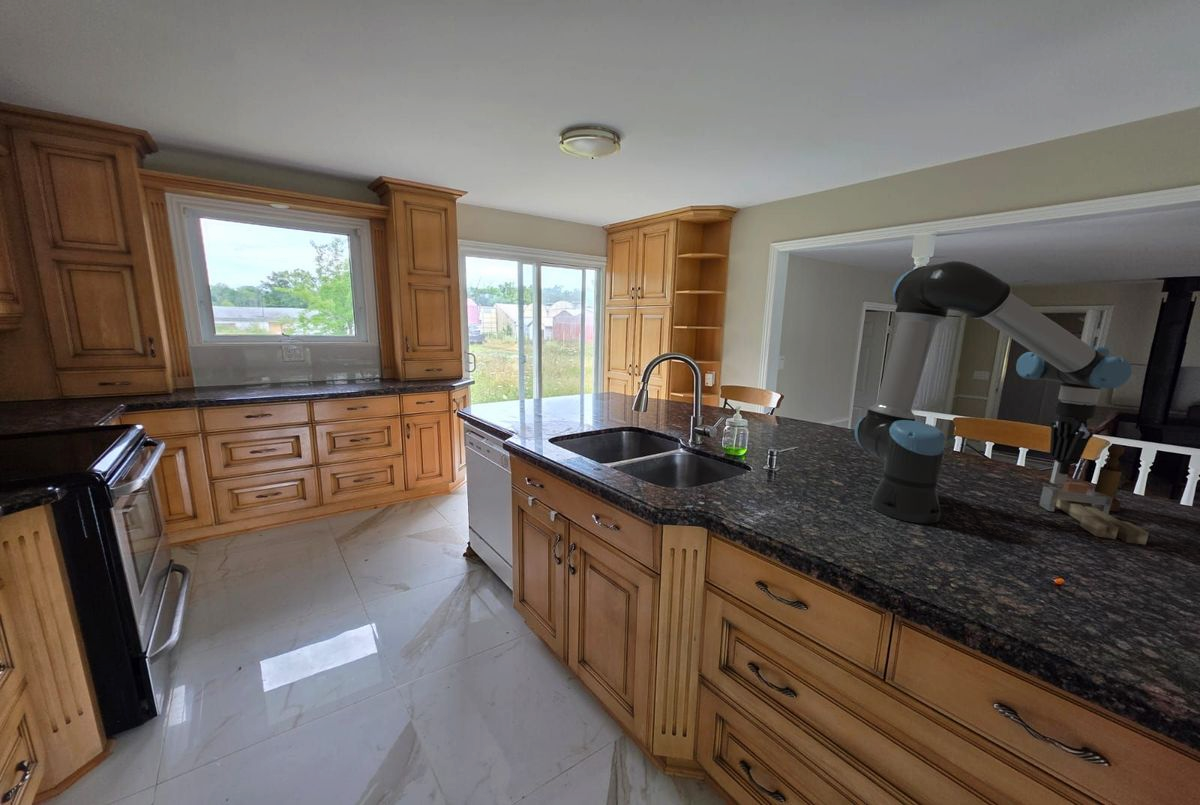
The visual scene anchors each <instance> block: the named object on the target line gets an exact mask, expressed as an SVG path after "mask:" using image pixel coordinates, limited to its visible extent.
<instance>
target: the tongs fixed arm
mask: <svg viewBox="0 0 1200 805" xmlns="http://www.w3.org/2000/svg"><path fill="white" fill-rule="evenodd" d="M1056 503H1057V501H1056ZM1077 503H1078V504H1080V505H1082V506H1083V507H1085V508H1087V509H1089V510H1090V511H1092V512H1094V513H1095V514H1097V515H1099V516H1100V517H1102V518H1104V519H1105V520H1107V521H1109V522H1110V523H1112V524H1114V525H1115V526H1117V527H1119V528H1118V532H1117V536H1116V538H1119V539H1120V540H1122V541H1124V542H1125V543H1129V544H1137V545H1139V544H1140V545H1145V546H1146V545H1147V543H1148V542H1147V541H1148V537H1149V534H1150V532H1148V531H1147V530H1145V529H1142V528H1141V527H1139V526H1137V525H1135V524H1134V523H1131V522H1129V521H1124V520H1119V519H1117V518H1116V517H1113V516H1111V514H1106V513H1104V512H1102V511H1100V510H1098V509H1097V508H1095V507H1093V506H1091V505H1089V504H1087V503H1083V502H1077Z"/></svg>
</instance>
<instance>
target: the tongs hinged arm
mask: <svg viewBox="0 0 1200 805" xmlns="http://www.w3.org/2000/svg"><path fill="white" fill-rule="evenodd" d="M1058 488H1060V487H1059V486H1058ZM1055 507H1057V508H1058V509H1060V510H1062V511H1063V512H1064V513H1066V514H1067V515H1069V516H1070V517H1072V518H1074V519H1075V520H1077V521H1078V522H1079V523H1080V524H1079V526H1080V527H1081V528H1083V529H1084V530H1086V531H1087V532H1089V533H1090V534H1092V535H1093V536H1095V537H1097V538H1105V539H1112V540H1116V539H1117V537H1116V536H1117V532H1118V528H1119V527H1117V526H1115V525H1114V524H1112V523H1110V522H1109V521H1107V520H1105V519H1104V518H1102V517H1100V516H1099V515H1097V514H1095V513H1094V512H1092V511H1090V510H1089V509H1087V508H1085V507H1083V506H1082V505H1080V504H1078V503H1077V502H1075V501H1066V500H1058V499H1057V503H1056V505H1055Z"/></svg>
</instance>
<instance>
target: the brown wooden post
mask: <svg viewBox="0 0 1200 805" xmlns="http://www.w3.org/2000/svg"><path fill="white" fill-rule="evenodd" d="M1107 452H1108V454H1109V456H1110V457H1109V458H1108V459H1106V463H1107V466H1100V468H1099V469H1100V470H1099V473H1098V477H1097V480H1096V484H1095V485H1096V486H1095V487H1094V491H1093V492H1101V493H1103V494H1105V495H1108V496H1110V497H1112V498H1113V499H1112V502H1111V506H1110V510H1109V512H1111V511H1112V512H1119V510H1120V506H1121V501H1119V500H1118V499H1117V498H1116V494H1117V491H1118V487H1119V485H1120V484H1119V483H1120V480H1121V476H1122V473H1123V470H1121V469H1118V468H1117V467H1118V466H1119V464H1120V461H1119V459H1118V458H1120V457H1121V456H1122V455H1123V454H1124V453H1125V448H1124V447H1123V445H1120V444H1111V445H1108V447H1107ZM1087 504H1089V505H1091V506H1092V504H1091V503H1087Z"/></svg>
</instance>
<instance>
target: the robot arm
mask: <svg viewBox="0 0 1200 805" xmlns="http://www.w3.org/2000/svg"><path fill="white" fill-rule="evenodd" d="M1012 289H1013V288H1012V287H1011V285H1010V284H1008V283H1006V282H1005V281H1004V280H1002V279H1001V278H999V277H998V276H996V275H994V274H993V273H991V272H989V271H987V270H985V269H984V268H981V267H979V266H978V265H977V266H976V265H975V264H971V263H968V262H965V261H956V260H955V261H947V262H943V263H936V264H930V265H923V266H922V265H921V266H918V267H916V268H914V269H911V270H908V271H907V272H905V273H904V274H902V275H901V276H900V277H899V278H898V279H897V280H896V282H895V284H894V286H893V289H892V298H893V299H892V300H893V301H894V303H895V305H896V309H895V312H894V315H895V316H896V318H897V319H898V323H897V324H898V325H897V328H896V332H895V334H894V335H895V336H894V339H893V342H892V347H891V349H890V353H889V356H888V359H887V360H888V361H887V363H886V368H885V371H884V374H883V377H882V382H881V385H880V388H879V392H878V395H877V399H876V402H875V403H874V404H873V405H871V406H869V407H868V409H867V413H866V414H865V415H863V417H862V418H860V419H859V420H858V421H857V423H856V424H855V427H854V438H855V441H856V442H857V444H858V446H859V447H861V448H860V449H863V450H864V451H865V452H866V453H867V454H869V455H871V456H874V457H876V458H877V459H880V460H881V461H883V462H885V463H884V468H883V473H882V474H883V476H882V479H881V480H880V481H879V484H878V485H877V487H876V489H875V490H874V492H873V494H872V496H871V500H870V501H871V502H870V506H871V507H872V508H873V509H874V510H876V511H877V512H879V513H881V514H882V515H885V516H886V517H887V516H888V517H890V518H893V519H897V520H900V521H905V522H908V523H916V524H925V525H926V524H934V523H938V522H939V521H940V518H941V513H942V512H941V510H942V509H941V505H940V500H939V496H938V492H937V485H938V480H939V475H940V470H941V465H942V461H943V460H942V459H943V455H944V451H945V449H946V447H945V442H946V441H945V440H946V439H945V438H946V435H945V433H944V432H943V431H942V430H941V429H939V428H938V427H936V426H933V425H932V424H928V423H923V422H920V421H916V415H915V414H914V413H913V412H912V409H913V405H914V401H915V399H916V396H917V391H918V389H919V385H920V383H921V379H922V375H923V372H924V368H925V365H926V362H927V359H928V355H929V351H930V349H931V345H932V342H933V337H934V334H935V332H936V328H937V326H938V324H940V323H942V322H944V321H945V320H947V315H948V312H949V310H953V311H957V312H960V313H964V314H965V315H967V316H969V317H970V318H972V319H974V320H979V319H981V320H983V321H984V322H986V323H988V324H990V325H991V326H992V327H993V328H995V329H997V330H999V331H1000V332H1001V333H1003V334H1004V335H1006V336H1007V337H1008V338H1010V339H1011V340H1013V341H1015V342H1017V343H1019V345H1021V346H1022V347H1024V348H1026V349H1027V350H1028V351H1027V352H1025V353H1022V354H1021V355H1020V356H1019V357H1018V359H1017V361H1016V365H1015V368H1016V369H1015V370H1016V373H1017V374H1018V376H1020V377H1021V378H1022V379H1028V380H1033V381H1034V380H1035V381H1036V380H1042V381H1044V380H1045V381H1050V382H1057V383H1058V382H1059V383H1061V384H1060V389H1059V393H1058V398H1057V399H1058V400H1059V401H1057V402H1056V406H1055V410H1054V414H1056V415H1058V416H1059V417H1058V419H1057V421H1051V422H1050V430H1051V432H1050V449H1049V455H1050V456H1051V457H1053V460H1054V462H1053V466H1052V472H1051V476H1050V480H1049V483H1051V484H1053V485H1059V486H1063V485H1064V481H1067V480H1068V476H1069V473H1070V468H1071V466H1072V464H1078V463H1079V462H1080V460H1081V457H1082V455H1083V453H1084V451H1085V449H1086V448H1087V445H1088V442H1089V441H1090V440H1091V439H1092V437H1093V436H1094V433H1093V431H1088V429H1087V428H1088V420H1091V419H1094V418H1095V415H1096V411H1097V406H1096V405H1095V404H1097V403H1098V402H1099V398H1100V395H1101V389H1115V388H1120V387H1121V386H1123V385H1124V384H1126V383H1127V382H1128V380H1130V378H1131V375H1132V372H1133V369H1132V368H1133V367H1132V365H1131V363H1130V362H1129V361H1128V360H1126V359H1125V358H1122V357H1117V356H1114V355H1110V349H1109V348H1108V347H1106V346H1096V345H1095V346H1093V345H1092V346H1091V345H1089V344H1088V343H1086V342H1084V341H1083V340H1082V339H1080V338H1078V337H1077V336H1075V335H1074V334H1072V333H1071V332H1070V331H1068V330H1067V329H1066V328H1064V327H1062V326H1061V325H1059V324H1058V323H1057V322H1055V321H1054V320H1052V319H1050V318H1049V317H1047V316H1046V315H1044V314H1043V313H1041V312H1040V311H1039V310H1037V309H1036V308H1034V307H1033V306H1032V305H1031V304H1028V303H1026V302H1025V300H1022V299H1021V298H1019V297H1018V296H1016V295H1015V294H1013V293H1012Z"/></svg>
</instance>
